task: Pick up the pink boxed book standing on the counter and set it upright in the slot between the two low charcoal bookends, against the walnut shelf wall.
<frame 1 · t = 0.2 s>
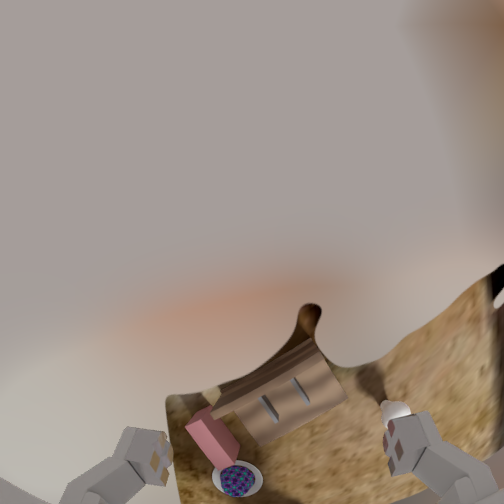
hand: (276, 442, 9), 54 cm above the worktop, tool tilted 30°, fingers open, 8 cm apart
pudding: (237, 477, 58), on the worktop
book: (218, 429, 60), on the worktop
shelf stand: (284, 395, 60), on the worktop
lightbulb: (384, 403, 58), on the worktop
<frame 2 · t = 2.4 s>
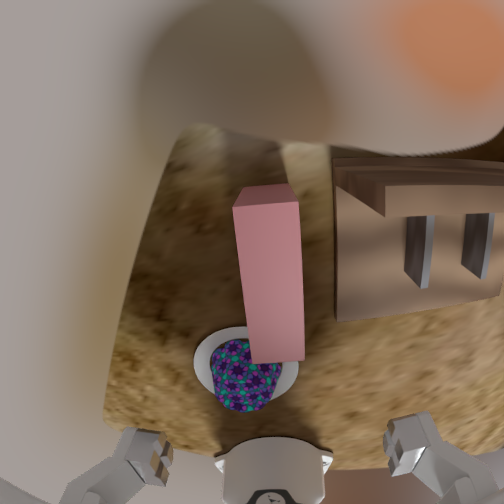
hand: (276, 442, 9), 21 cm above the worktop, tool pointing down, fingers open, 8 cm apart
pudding: (246, 364, 34), on the worktop
book: (271, 249, 29), on the worktop
shelf stand: (435, 236, 27), on the worktop
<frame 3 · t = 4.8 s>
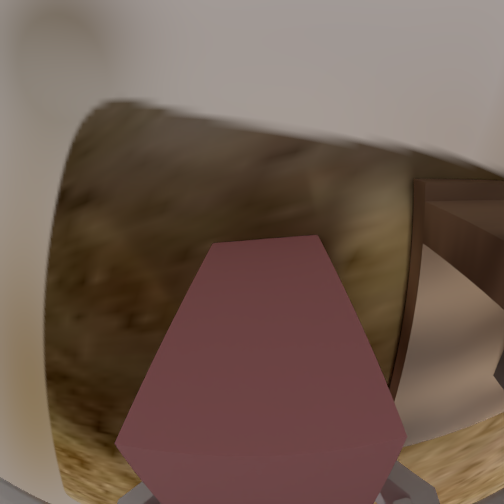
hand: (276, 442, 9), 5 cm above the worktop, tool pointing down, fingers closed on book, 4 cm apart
book: (275, 362, 14), on the worktop, touching gripper
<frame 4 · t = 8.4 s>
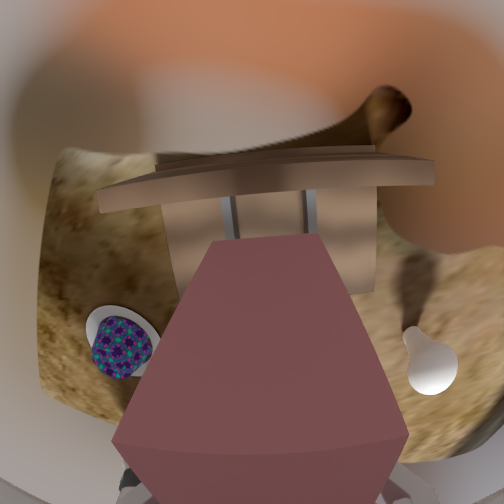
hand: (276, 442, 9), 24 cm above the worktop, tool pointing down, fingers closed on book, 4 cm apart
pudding: (125, 339, 39), on the worktop
book: (275, 361, 14), point 20 cm above the worktop, touching gripper
shelf stand: (271, 228, 32), on the worktop
lightbulb: (408, 329, 36), on the worktop
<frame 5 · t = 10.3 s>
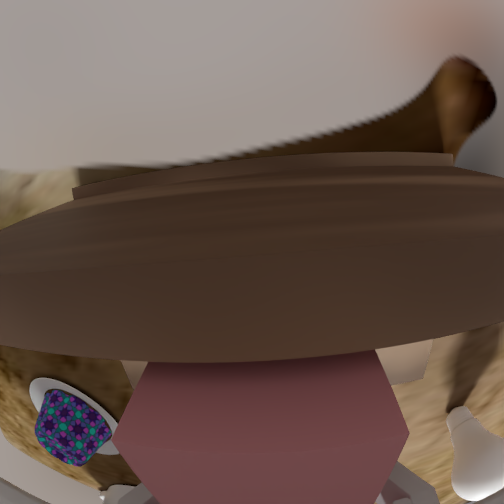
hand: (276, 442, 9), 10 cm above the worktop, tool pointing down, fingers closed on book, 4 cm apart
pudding: (78, 414, 25), on the worktop
book: (275, 361, 14), point 5 cm above the worktop, touching gripper
shelf stand: (271, 295, 18), on the worktop
lightbulb: (453, 408, 22), on the worktop
when the fingers open (6 cm above the worktop, at t = 11.8 s): book stays where it is, resting on shelf stand.
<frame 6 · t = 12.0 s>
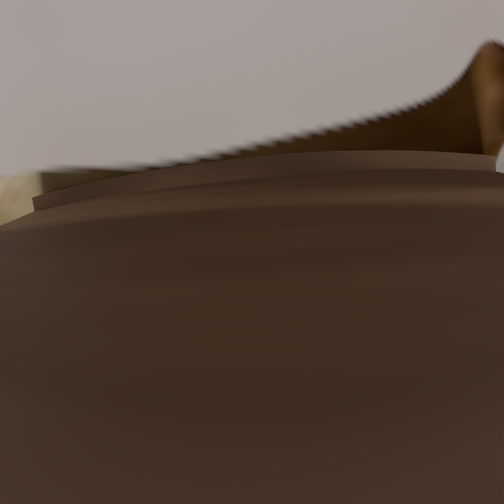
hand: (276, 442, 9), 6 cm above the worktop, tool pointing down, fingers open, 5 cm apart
shelf stand: (274, 327, 15), on the worktop
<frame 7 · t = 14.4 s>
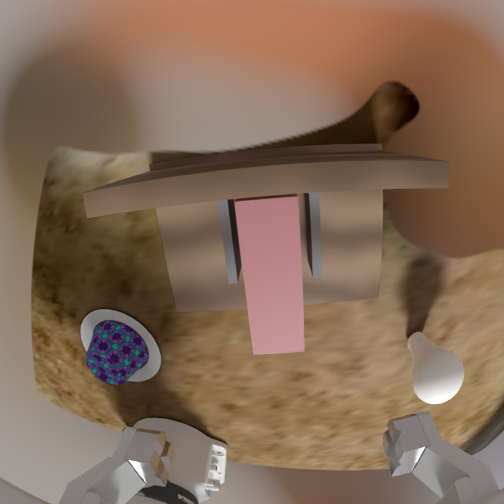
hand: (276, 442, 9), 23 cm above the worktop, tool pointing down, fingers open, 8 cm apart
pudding: (121, 344, 37), on the worktop
book: (272, 243, 30), point 1 cm above the worktop, touching shelf stand
shelf stand: (272, 230, 30), on the worktop
lightbulb: (413, 335, 34), on the worktop
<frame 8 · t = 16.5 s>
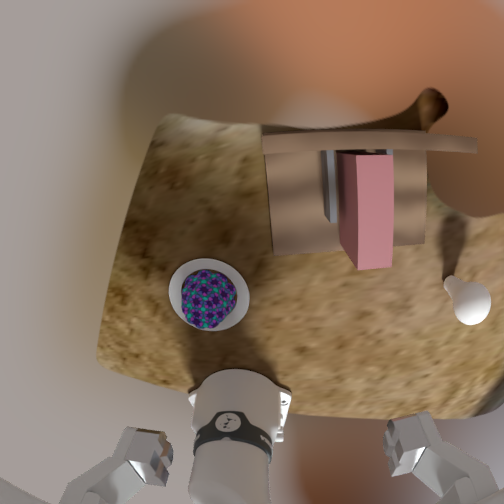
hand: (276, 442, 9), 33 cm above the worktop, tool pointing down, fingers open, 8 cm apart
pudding: (209, 293, 45), on the worktop
book: (353, 198, 38), point 1 cm above the worktop, touching shelf stand
shelf stand: (351, 189, 39), on the worktop
lightbulb: (446, 279, 42), on the worktop
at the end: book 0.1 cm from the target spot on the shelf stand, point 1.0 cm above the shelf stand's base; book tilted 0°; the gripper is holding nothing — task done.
